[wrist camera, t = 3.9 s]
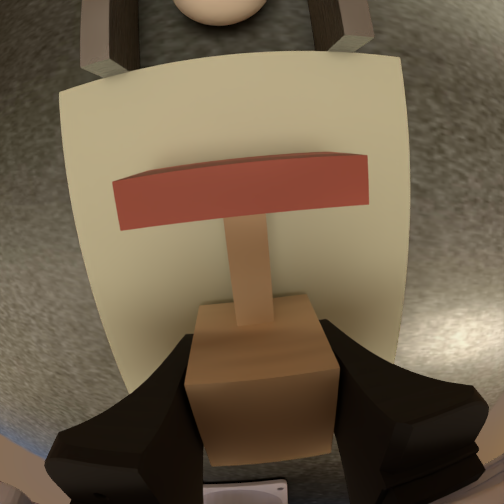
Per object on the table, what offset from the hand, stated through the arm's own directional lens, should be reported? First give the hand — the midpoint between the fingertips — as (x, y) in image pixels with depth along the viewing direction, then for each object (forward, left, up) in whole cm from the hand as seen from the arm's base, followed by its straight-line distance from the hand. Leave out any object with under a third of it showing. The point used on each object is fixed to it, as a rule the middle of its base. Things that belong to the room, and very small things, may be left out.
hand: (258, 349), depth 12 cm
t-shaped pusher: (+2, 0, -1) cm, 2 cm away
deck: (+2, 0, -3) cm, 3 cm away
